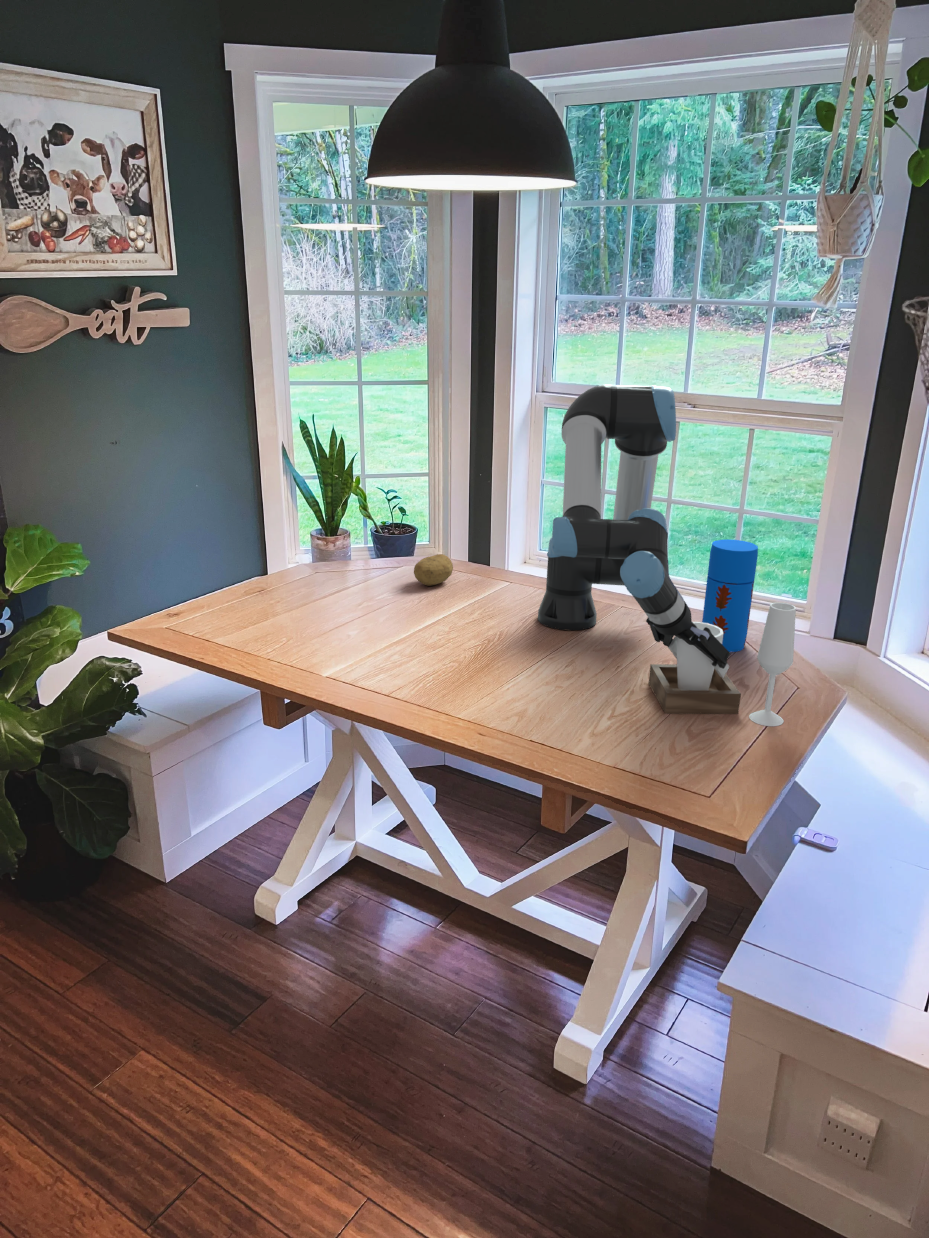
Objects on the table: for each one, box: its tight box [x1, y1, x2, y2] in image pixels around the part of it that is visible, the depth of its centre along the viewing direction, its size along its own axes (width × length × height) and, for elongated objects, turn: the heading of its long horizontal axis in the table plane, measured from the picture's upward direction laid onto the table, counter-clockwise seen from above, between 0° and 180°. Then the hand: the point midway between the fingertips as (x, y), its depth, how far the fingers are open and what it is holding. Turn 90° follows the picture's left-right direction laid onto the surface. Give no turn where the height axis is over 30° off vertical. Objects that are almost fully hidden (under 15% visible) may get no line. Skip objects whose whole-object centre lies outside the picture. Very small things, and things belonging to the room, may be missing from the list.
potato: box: [413, 553, 454, 587], centre depth 258 cm, size 10×14×8 cm
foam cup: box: [674, 621, 723, 691], centre depth 186 cm, size 10×9×13 cm
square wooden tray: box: [648, 663, 742, 715], centre depth 188 cm, size 15×15×4 cm
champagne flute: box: [748, 601, 797, 727], centre depth 176 cm, size 7×7×24 cm
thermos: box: [701, 539, 759, 653], centre depth 214 cm, size 11×11×25 cm
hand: (703, 664), depth 188 cm, fingers closed on foam cup, 9 cm apart
